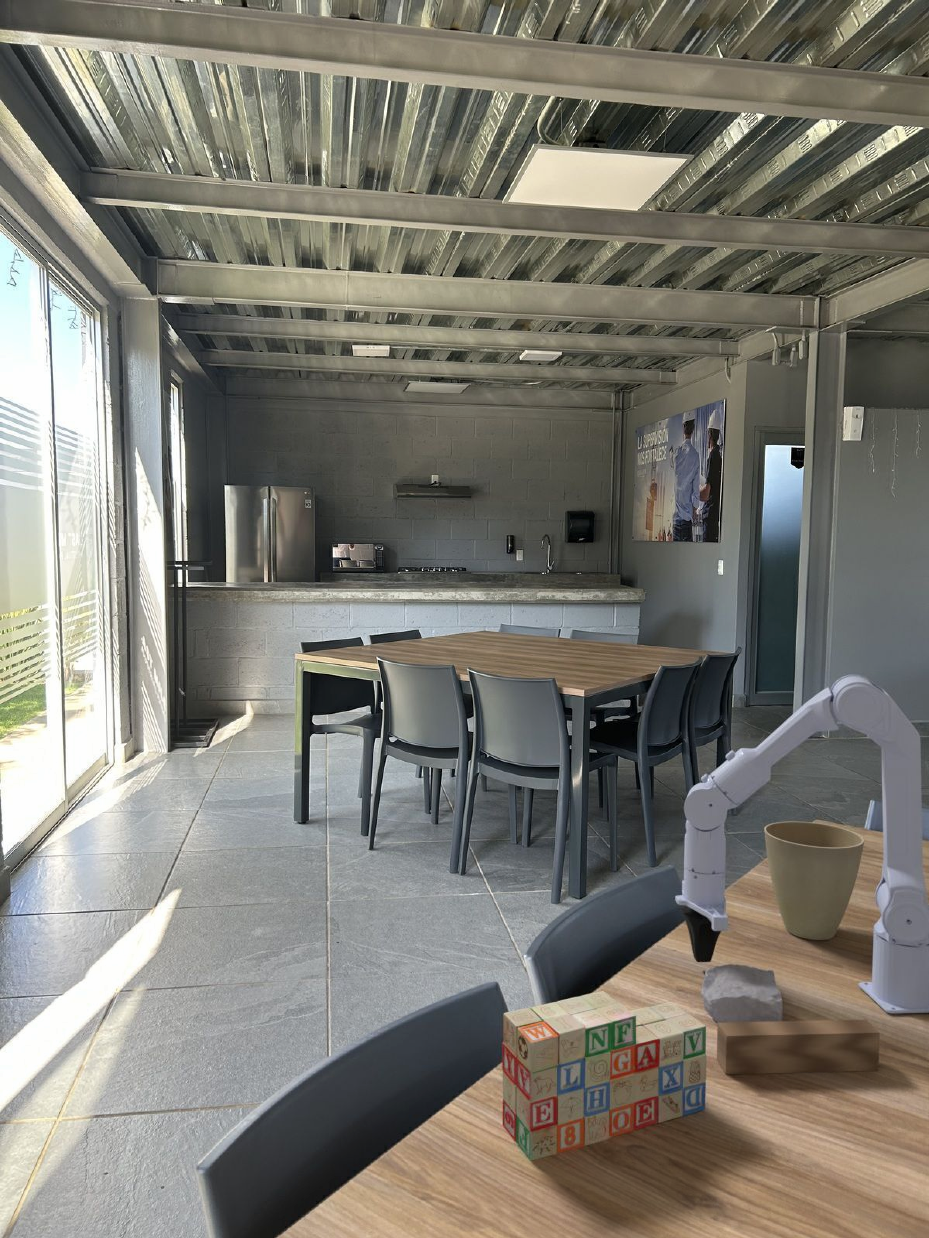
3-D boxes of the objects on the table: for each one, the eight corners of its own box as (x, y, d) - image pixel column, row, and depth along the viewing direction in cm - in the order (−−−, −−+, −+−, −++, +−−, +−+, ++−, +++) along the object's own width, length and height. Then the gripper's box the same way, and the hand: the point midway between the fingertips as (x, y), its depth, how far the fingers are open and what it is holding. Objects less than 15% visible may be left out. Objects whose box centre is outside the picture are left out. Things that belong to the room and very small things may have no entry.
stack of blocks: (670, 1080, 100) (672, 974, 100) (706, 1111, 94) (709, 998, 94) (500, 1126, 92) (501, 1010, 91) (529, 1163, 86) (530, 1040, 85)
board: (865, 1056, 105) (866, 1019, 105) (878, 1070, 102) (879, 1032, 102) (716, 1059, 104) (717, 1022, 104) (725, 1074, 101) (726, 1035, 101)
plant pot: (872, 954, 134) (876, 850, 133) (770, 946, 136) (772, 844, 135) (847, 916, 148) (850, 822, 147) (755, 910, 151) (757, 818, 150)
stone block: (709, 1038, 113) (790, 1031, 111) (702, 1001, 113) (783, 993, 111) (703, 998, 124) (776, 991, 122) (696, 964, 124) (769, 956, 122)
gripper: (663, 851, 134) (661, 939, 135) (692, 885, 120) (690, 983, 120) (708, 851, 135) (706, 938, 135) (744, 885, 120) (741, 982, 121)
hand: (702, 960), depth 128 cm, fingers closed
